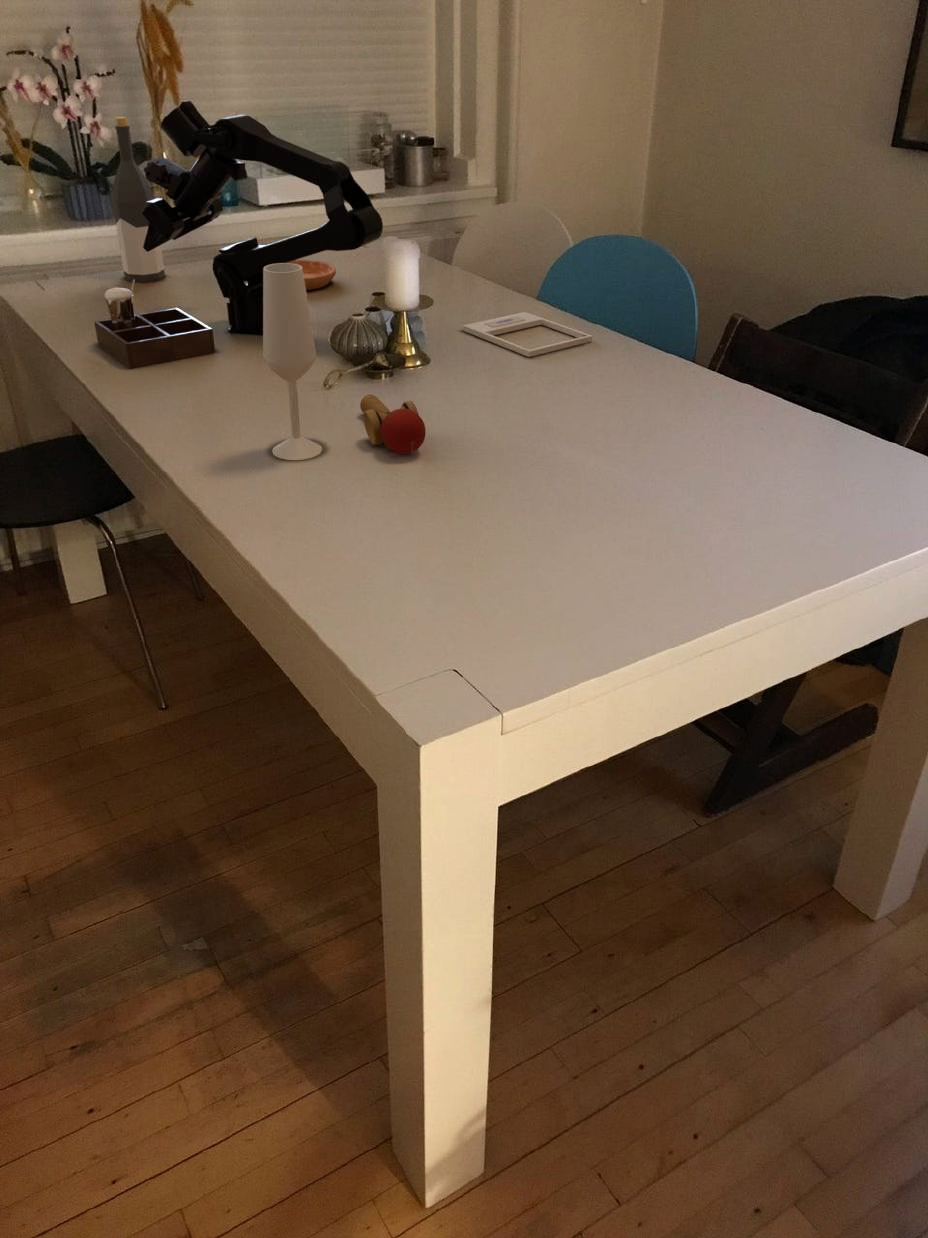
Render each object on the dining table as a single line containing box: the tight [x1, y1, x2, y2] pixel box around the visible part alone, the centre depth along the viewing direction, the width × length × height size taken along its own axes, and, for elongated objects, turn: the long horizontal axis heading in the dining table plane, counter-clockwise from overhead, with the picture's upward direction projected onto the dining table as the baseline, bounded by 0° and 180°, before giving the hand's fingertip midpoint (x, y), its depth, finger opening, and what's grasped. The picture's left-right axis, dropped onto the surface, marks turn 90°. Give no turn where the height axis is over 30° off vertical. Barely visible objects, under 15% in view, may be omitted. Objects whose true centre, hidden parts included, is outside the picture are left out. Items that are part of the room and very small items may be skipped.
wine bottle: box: [111, 116, 166, 284], centre depth 206 cm, size 8×8×30 cm
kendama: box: [359, 393, 427, 455], centre depth 143 cm, size 8×6×18 cm
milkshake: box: [104, 280, 135, 331], centre depth 173 cm, size 4×5×10 cm
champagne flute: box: [262, 263, 323, 461], centre depth 133 cm, size 7×7×24 cm
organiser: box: [94, 307, 216, 369], centre depth 174 cm, size 15×15×4 cm
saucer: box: [287, 259, 337, 291], centre depth 210 cm, size 16×16×3 cm
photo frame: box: [462, 311, 593, 358], centre depth 183 cm, size 15×1×18 cm
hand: (159, 243), depth 182 cm, fingers open, 9 cm apart
